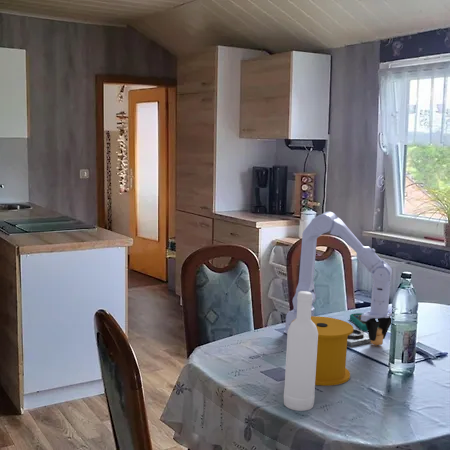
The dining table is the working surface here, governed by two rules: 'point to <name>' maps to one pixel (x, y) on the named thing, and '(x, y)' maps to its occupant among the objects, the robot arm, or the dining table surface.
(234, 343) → the dining table surface
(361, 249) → the robot arm
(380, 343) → the orange rounded knob
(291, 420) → the dining table surface
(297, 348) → the bottle
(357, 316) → the digital multimeter
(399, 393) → the dining table surface
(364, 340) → the junction plate
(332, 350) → the spool
